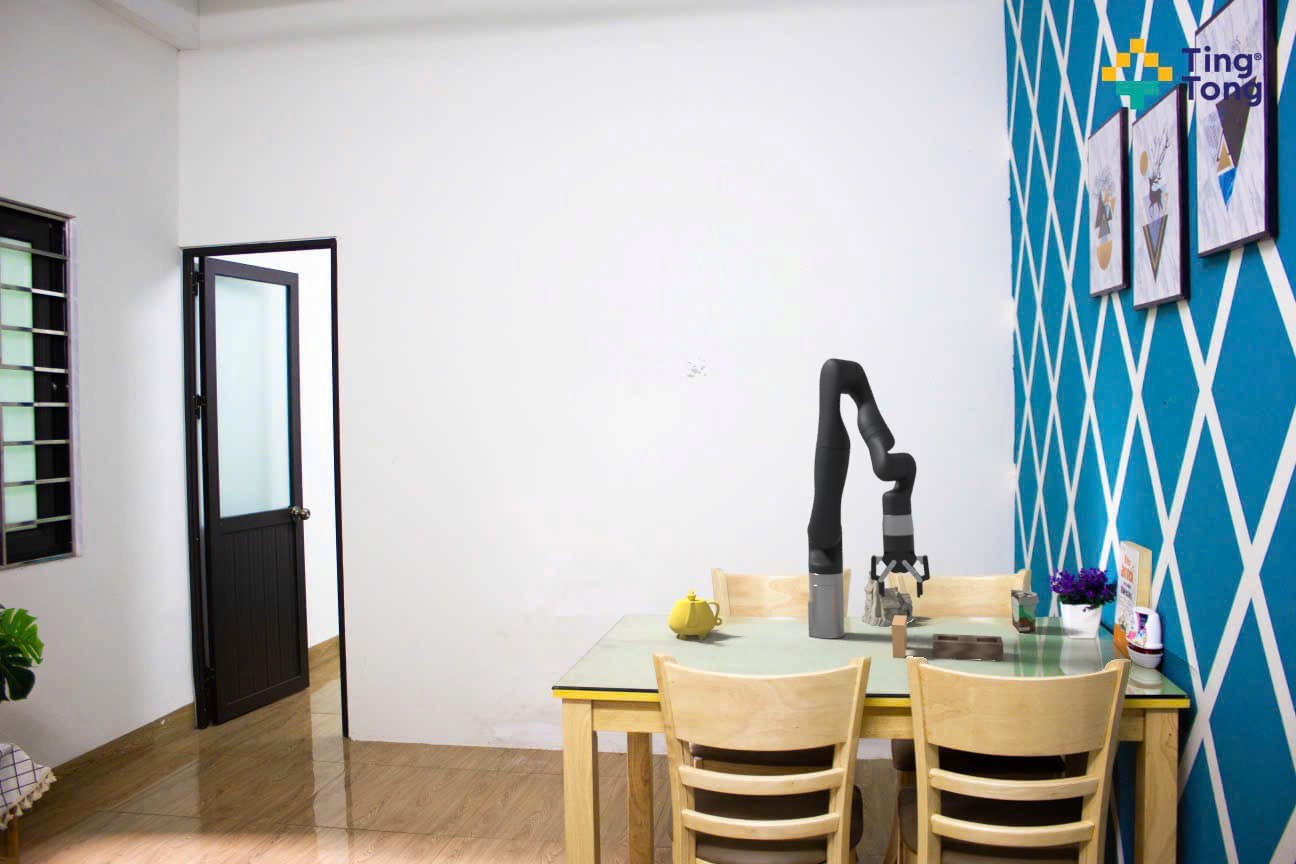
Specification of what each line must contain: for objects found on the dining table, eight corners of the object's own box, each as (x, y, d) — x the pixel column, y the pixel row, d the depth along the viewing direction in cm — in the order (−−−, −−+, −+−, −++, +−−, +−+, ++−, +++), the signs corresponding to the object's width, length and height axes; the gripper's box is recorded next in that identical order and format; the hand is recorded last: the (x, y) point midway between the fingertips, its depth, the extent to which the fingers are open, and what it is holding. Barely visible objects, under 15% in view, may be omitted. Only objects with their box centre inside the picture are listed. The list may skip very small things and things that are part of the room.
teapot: (724, 643, 245) (723, 600, 245) (668, 644, 245) (667, 601, 245) (720, 627, 265) (719, 587, 265) (668, 628, 265) (668, 588, 265)
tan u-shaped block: (905, 658, 225) (904, 625, 225) (892, 657, 226) (891, 624, 226) (907, 646, 236) (906, 615, 236) (895, 646, 237) (894, 615, 237)
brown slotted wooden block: (933, 657, 224) (932, 641, 224) (933, 649, 233) (933, 633, 233) (1003, 661, 219) (1003, 644, 219) (1001, 652, 228) (1001, 636, 228)
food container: (1044, 635, 245) (1043, 597, 245) (1020, 634, 247) (1019, 597, 247) (1034, 625, 258) (1033, 589, 258) (1011, 625, 259) (1010, 589, 259)
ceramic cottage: (871, 628, 259) (872, 574, 259) (856, 618, 275) (857, 568, 276) (926, 629, 259) (927, 576, 260) (907, 620, 276) (909, 570, 276)
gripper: (868, 534, 230) (871, 599, 230) (927, 533, 225) (930, 600, 225) (869, 531, 237) (872, 594, 237) (927, 530, 233) (930, 594, 233)
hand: (901, 596), depth 231 cm, fingers open, 8 cm apart
